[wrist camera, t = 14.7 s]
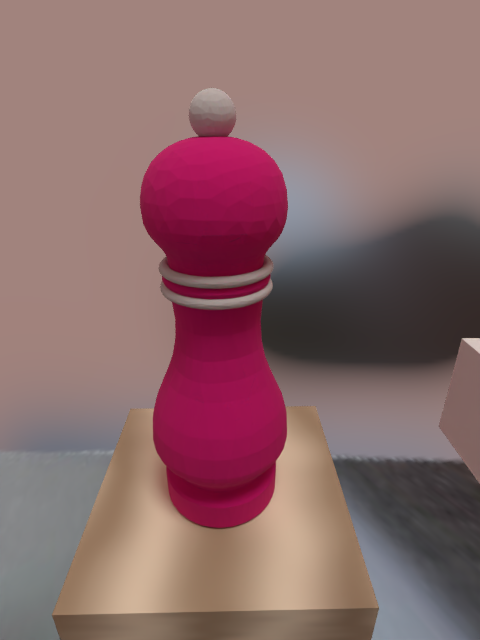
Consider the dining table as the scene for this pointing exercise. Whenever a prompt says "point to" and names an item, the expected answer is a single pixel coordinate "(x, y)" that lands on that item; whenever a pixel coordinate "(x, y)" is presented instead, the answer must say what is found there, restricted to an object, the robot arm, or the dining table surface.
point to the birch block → (218, 555)
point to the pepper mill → (217, 316)
